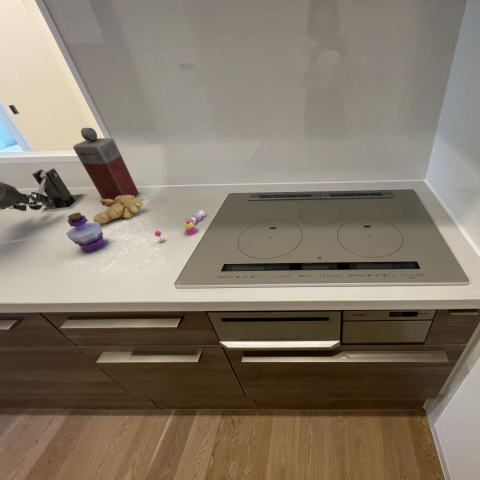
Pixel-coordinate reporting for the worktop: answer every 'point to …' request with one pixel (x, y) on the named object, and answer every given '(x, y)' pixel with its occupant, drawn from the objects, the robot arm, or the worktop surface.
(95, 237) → the potion bottle
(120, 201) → the ginger root
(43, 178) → the tap lever
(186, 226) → the pink and purple pieces
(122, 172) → the red square bottle
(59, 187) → the lever switch
